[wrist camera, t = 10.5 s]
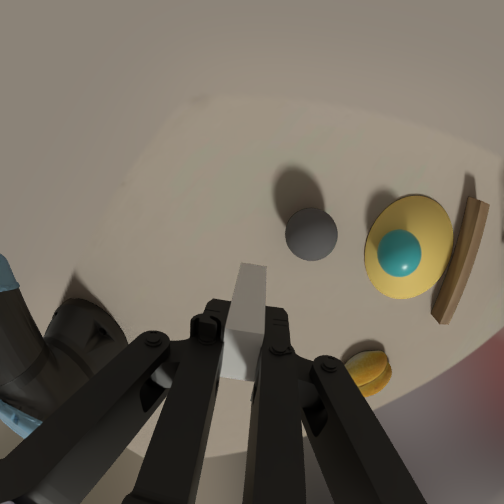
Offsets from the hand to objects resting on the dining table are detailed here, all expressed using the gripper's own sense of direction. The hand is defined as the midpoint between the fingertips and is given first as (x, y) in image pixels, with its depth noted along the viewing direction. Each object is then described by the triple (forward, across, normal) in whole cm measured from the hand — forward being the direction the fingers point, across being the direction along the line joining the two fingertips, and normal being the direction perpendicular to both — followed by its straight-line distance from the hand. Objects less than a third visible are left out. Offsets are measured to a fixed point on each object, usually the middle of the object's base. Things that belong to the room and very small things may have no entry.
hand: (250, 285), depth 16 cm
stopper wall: (+15, +28, 0) cm, 32 cm away
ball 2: (+13, +16, 0) cm, 21 cm away
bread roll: (+16, +20, -20) cm, 33 cm away
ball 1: (+13, +6, 0) cm, 14 cm away
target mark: (+15, +20, 0) cm, 25 cm away
